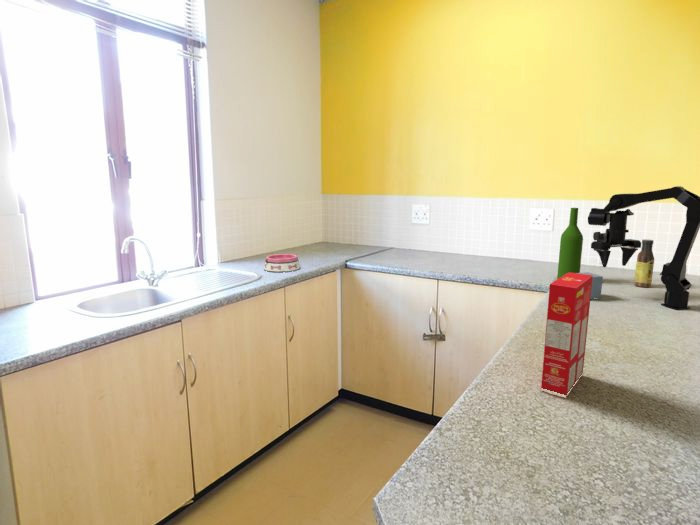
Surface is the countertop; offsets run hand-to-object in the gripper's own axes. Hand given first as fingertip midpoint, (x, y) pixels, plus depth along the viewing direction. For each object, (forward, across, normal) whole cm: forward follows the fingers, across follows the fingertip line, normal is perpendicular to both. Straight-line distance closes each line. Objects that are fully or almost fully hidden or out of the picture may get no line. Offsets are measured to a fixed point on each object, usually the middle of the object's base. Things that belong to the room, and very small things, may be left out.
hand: (614, 266), depth 179 cm
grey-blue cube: (+12, +12, -1) cm, 17 cm away
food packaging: (+12, +72, +60) cm, 94 cm away
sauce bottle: (+12, -24, -8) cm, 28 cm away
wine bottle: (+11, 0, -25) cm, 27 cm away
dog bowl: (+10, +121, -86) cm, 149 cm away
